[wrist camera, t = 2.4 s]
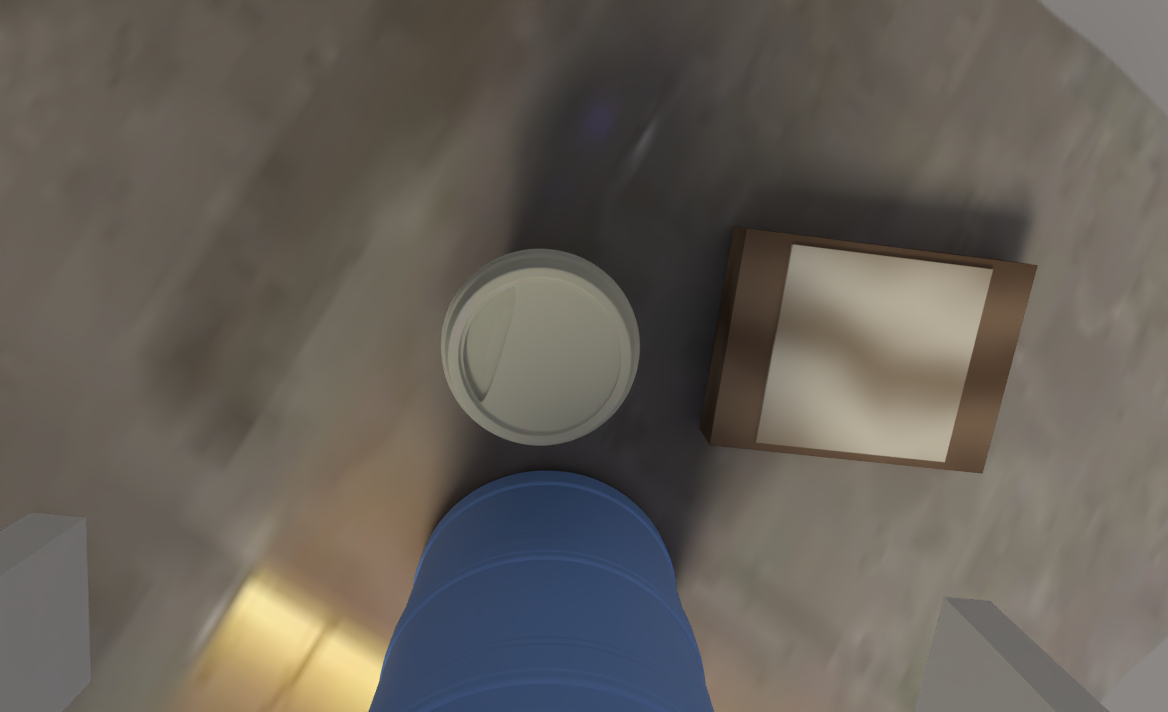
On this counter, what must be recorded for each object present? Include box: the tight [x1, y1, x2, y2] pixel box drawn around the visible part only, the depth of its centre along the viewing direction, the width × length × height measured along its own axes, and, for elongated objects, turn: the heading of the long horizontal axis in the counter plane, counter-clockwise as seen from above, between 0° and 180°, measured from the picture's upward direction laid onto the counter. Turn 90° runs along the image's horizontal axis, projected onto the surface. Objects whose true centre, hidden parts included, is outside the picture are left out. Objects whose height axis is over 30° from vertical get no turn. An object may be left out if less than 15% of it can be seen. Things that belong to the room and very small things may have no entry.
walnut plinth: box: [700, 227, 1037, 473], centre depth 40 cm, size 12×16×3 cm
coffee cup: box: [441, 249, 640, 446], centre depth 34 cm, size 9×8×12 cm
